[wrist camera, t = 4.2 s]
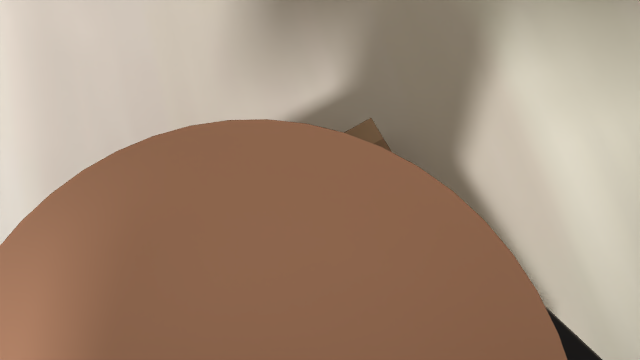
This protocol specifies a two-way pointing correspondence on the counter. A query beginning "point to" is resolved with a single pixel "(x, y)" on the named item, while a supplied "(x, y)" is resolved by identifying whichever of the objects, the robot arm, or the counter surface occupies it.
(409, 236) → the smooth tapered peach-colored object
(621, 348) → the counter surface
